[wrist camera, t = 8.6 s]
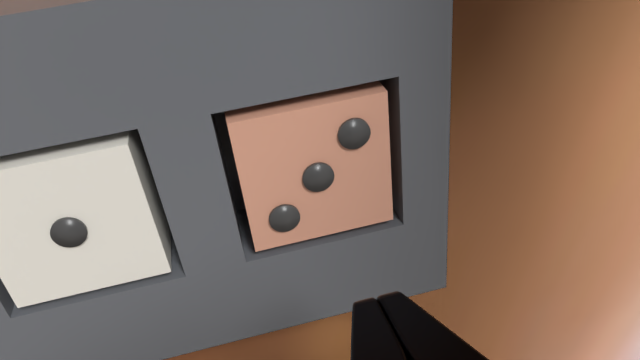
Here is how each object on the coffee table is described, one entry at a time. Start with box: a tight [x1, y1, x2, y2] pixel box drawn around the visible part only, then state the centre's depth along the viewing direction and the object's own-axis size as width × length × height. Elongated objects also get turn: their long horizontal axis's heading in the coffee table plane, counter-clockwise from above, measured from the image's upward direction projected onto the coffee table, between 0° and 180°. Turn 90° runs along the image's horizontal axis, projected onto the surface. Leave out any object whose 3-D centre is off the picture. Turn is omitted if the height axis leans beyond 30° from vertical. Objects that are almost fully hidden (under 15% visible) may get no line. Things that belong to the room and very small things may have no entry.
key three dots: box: [224, 81, 393, 252], centre depth 15 cm, size 4×4×2 cm
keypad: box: [0, 0, 453, 360], centre depth 14 cm, size 19×10×3 cm, turn 96°
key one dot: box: [0, 129, 171, 308], centre depth 14 cm, size 4×4×2 cm
